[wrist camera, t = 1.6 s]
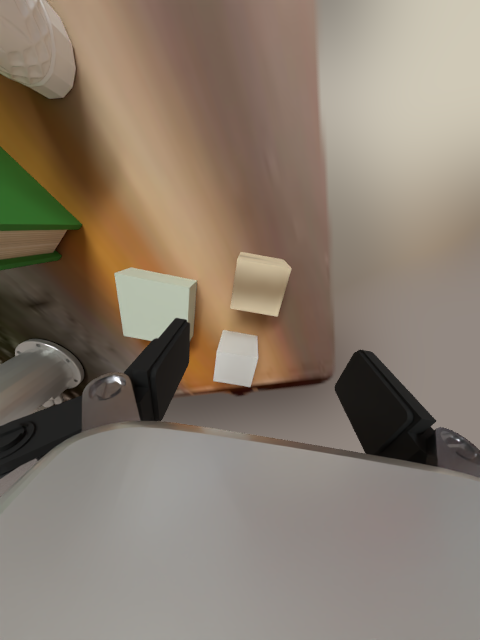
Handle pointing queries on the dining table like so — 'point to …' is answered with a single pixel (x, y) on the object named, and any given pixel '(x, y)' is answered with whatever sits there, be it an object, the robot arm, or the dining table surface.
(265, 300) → the maple cube
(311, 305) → the dining table surface
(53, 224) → the hardback book
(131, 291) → the base block
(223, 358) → the grey cube
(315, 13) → the dining table surface
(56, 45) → the white cup
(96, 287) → the dining table surface
